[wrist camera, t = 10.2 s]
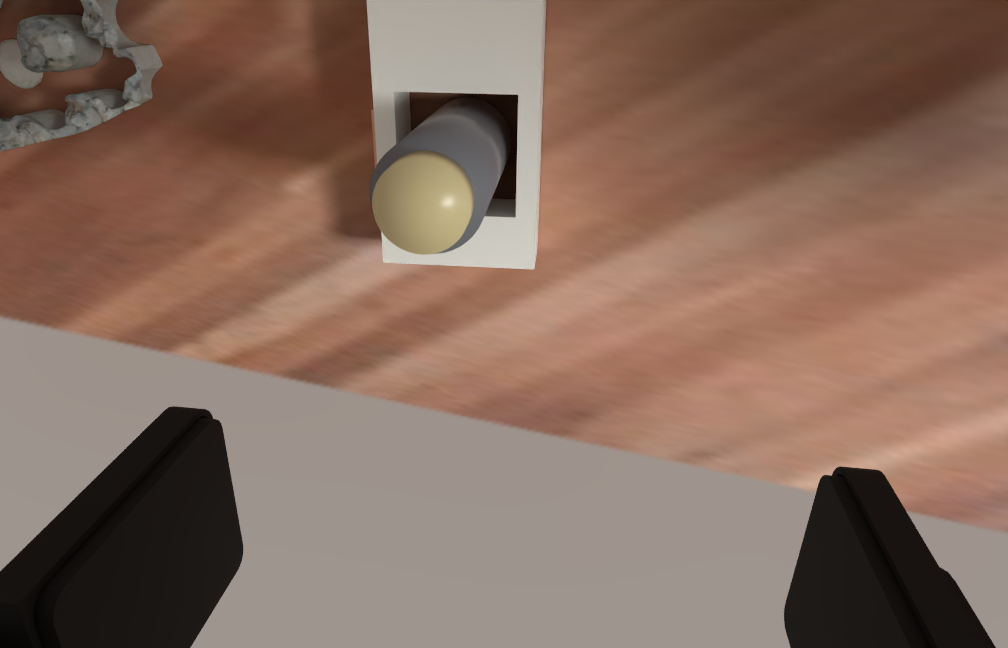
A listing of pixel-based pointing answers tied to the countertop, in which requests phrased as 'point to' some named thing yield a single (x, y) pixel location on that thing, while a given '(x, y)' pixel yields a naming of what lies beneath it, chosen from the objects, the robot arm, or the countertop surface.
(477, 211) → the plug
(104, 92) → the egg carton
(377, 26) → the socket strip
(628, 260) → the countertop surface
